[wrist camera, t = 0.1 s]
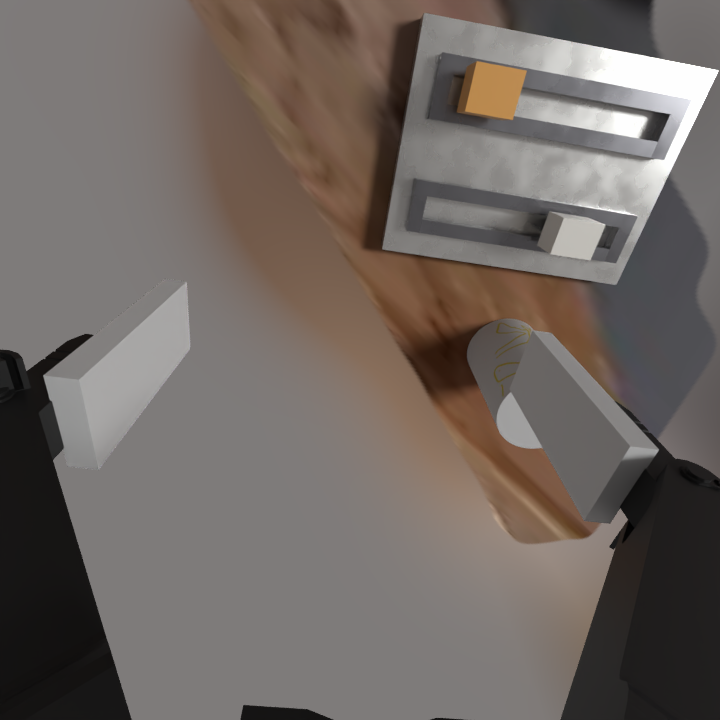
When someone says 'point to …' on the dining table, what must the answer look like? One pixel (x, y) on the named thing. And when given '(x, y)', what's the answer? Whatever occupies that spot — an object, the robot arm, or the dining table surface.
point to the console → (535, 149)
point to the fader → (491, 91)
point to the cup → (502, 376)
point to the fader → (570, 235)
